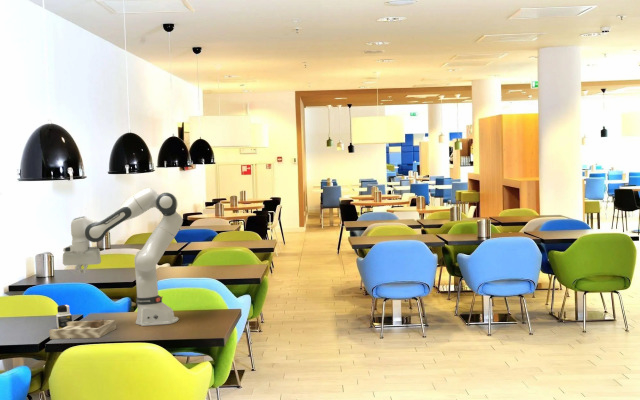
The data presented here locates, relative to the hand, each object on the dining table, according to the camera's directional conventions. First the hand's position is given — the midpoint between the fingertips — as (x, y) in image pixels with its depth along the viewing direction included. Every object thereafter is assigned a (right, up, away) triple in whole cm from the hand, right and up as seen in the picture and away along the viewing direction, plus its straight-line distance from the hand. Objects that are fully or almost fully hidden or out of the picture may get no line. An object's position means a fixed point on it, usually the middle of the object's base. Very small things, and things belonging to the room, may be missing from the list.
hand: (82, 273), depth 386 cm
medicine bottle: (-11, -30, +4) cm, 32 cm away
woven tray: (+5, -29, -15) cm, 34 cm away
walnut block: (+13, -27, -17) cm, 34 cm away
